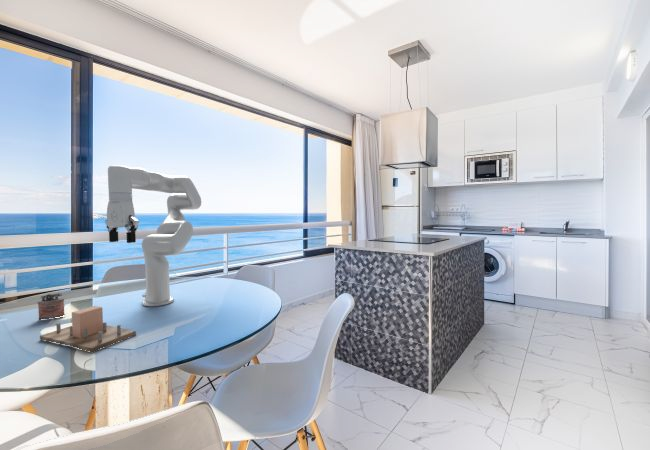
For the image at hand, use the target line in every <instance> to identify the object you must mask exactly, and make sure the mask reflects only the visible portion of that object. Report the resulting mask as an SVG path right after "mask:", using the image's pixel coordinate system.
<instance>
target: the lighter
mask: <svg viewBox="0 0 650 450" xmlns="http://www.w3.org/2000/svg"><path fill="white" fill-rule="evenodd" d="M40 296H41V300H37V306H38V307H37V309H38V319H39V320H41V319H49V318H55V317H60V316H63V315H65V316H66V314H65V297H62V296H63V293H62V292H57V293H56V292H55V293H52V292H50V293H48V294H42V295H40Z"/></svg>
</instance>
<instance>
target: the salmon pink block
mask: <svg viewBox="0 0 650 450" xmlns="http://www.w3.org/2000/svg"><path fill="white" fill-rule="evenodd" d="M103 313H104V312H103V306H96V305H94V306H90V307H86V308H83V309H78V310H74V311H71V324H72V325H71V326H72V329H73V337H77V338H83V337H84V334H83V329H87V334H88V335H91V334H94V333H97V332H100V331H103V323H104V319H103V316H104V315H103Z"/></svg>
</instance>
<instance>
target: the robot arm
mask: <svg viewBox="0 0 650 450" xmlns="http://www.w3.org/2000/svg"><path fill="white" fill-rule="evenodd" d="M107 183H108V184H107V185H108V186H107V187H108V203H107V206H106V207H107V208H106V219H105V221H104V222H105V225H106V229H107V232H108V240H109V241H108V242H109V243H114V242H119V231H118V229H119V228H125V230H126V231H127V232H126V243H127V244H131V243H136V241H137V239H136V236H137V235H136V232H137V229H138V228H139V223H140V220H138V219H137V218H136V216H135V207H134V203H133V190H143V191H152V192H161V193H166V194H169V196H168V197H167V199H166V207H167V215H166V217H165V218H164V220H162V222H161V223H160V224H159V225H158V227H157V229H156V233H154V234H148V235H146V236H144V238H143V239H142V241H141V250H142V253H143V257H144V266H145V293H142V295H141V296H142V297H143V298H145V299H144V300H143V301H142V305H143V306H144V307H160V306H165V305H169V304H171V303H172V302H174V300H175V299H174V297H173V296H171V293H170V292H171V291H170V290H171V289H170V265H169V260H168V259H167V257H166V256H177V255H180V254H181V253H182V252H183V251H184V249H185V247H186V246H187V245H188V243H189V242H190V240H191V238H192V237H193V234H194V227H193V224H192V223H191V222H190V221H187V220H186V218H185V216H184V214H183V213H182V211H181V210H186V211H187V210H189V211H190V210H197V209H199V208H200V207H201V206H202V198H201V194H200V193H199V192H198V189H197V188H196V185H195V184H194V182H193V181H192V179H191V178H190V177H188V176H187V175H169V174H165V173H161V172H156V171H148V170H146V169H145V168H142V167H129V166H126V165H117V164H115V165H113V164H112V165H109V166H108V167H107Z"/></svg>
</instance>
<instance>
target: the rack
mask: <svg viewBox="0 0 650 450" xmlns="http://www.w3.org/2000/svg"><path fill="white" fill-rule="evenodd" d="M55 325H56V330H54V331H51V332H47V333H44V334H42V335H39V340H40V339H42V340H46V341H51V342H56V343H60V344H65V345H70V346H73V347H77V348H79V349H82V350H86V351H90V352H93V353H95V352H94V351H96V350H98V349H100V348H103V347H106V346H108V345H111V344H113V343H115V344H117V343H116V342H118V341H120V342H122V341H121V340H123V341H125V340H127V339H126V338H128V337H130V338H132V337H131V336H133V335H135V336H136V335H137V331H136V330H133V329H128V328H124V327H121V326H122V325H121V324H117V325H116V326H113V325H109V324H108V325H107V322H106V321H103V331H100V332H97V333H94V334H91V335H88V334H87V329H83V334H84V337H83V338H77V337H73V329H72V325H70V326H67V327H64V328H61V323H60V322H57V323H56V324H55ZM133 337H134V336H133ZM124 339H125V340H124ZM128 339H129V338H128ZM118 343H119V342H118ZM113 345H114V344H113ZM111 346H112V345H111ZM108 347H109V346H108ZM106 348H107V347H106ZM103 349H104V348H103ZM98 351H99V350H98ZM96 352H97V351H96Z"/></svg>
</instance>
